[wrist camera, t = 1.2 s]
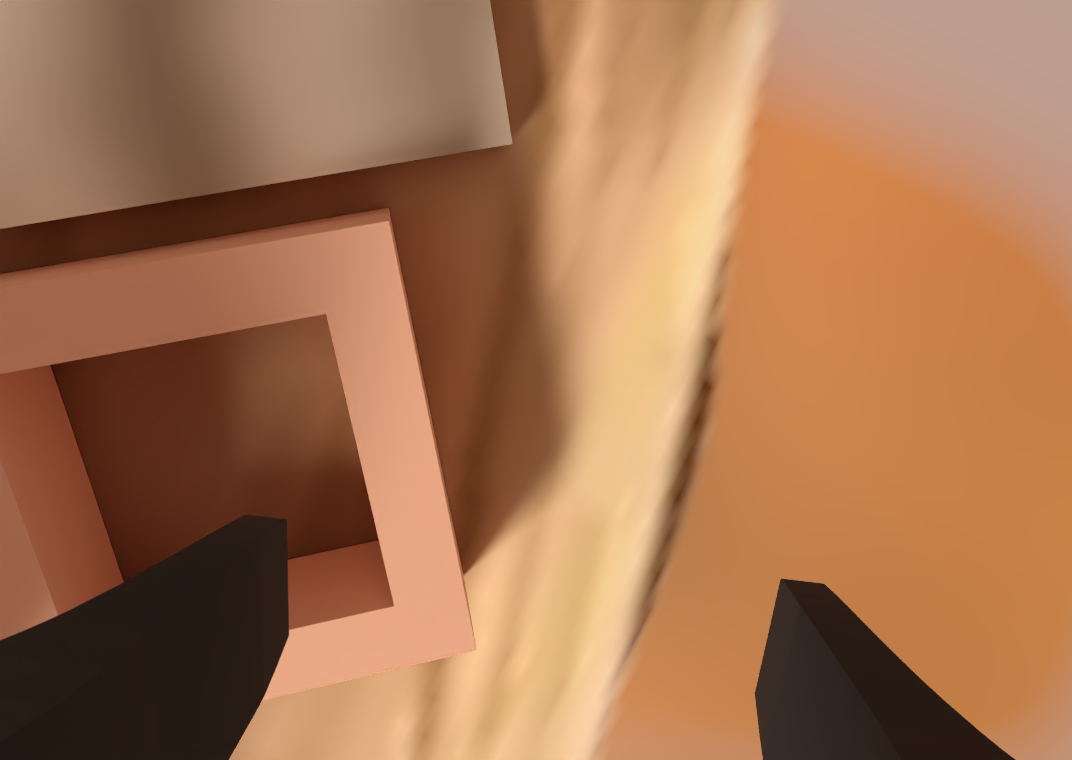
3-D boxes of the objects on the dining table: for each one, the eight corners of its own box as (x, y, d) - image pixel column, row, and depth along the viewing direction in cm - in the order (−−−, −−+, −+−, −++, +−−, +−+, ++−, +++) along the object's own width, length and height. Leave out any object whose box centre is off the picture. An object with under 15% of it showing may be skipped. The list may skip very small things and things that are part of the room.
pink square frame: (82, 662, 22) (28, 755, 19) (-57, 283, 19) (-151, 314, 16) (463, 576, 23) (476, 650, 20) (388, 207, 20) (389, 220, 17)
